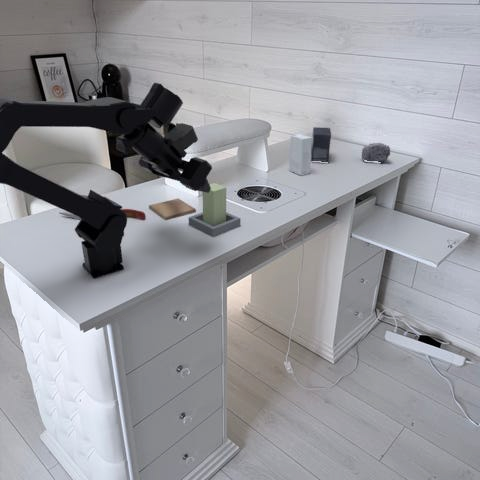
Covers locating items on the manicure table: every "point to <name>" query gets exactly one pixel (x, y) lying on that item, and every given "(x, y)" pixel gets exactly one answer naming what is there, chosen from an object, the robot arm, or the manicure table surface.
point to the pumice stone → (376, 152)
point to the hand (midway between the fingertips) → (196, 185)
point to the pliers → (129, 212)
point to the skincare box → (300, 154)
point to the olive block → (214, 205)
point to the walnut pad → (172, 208)
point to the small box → (320, 144)
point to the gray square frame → (230, 224)
